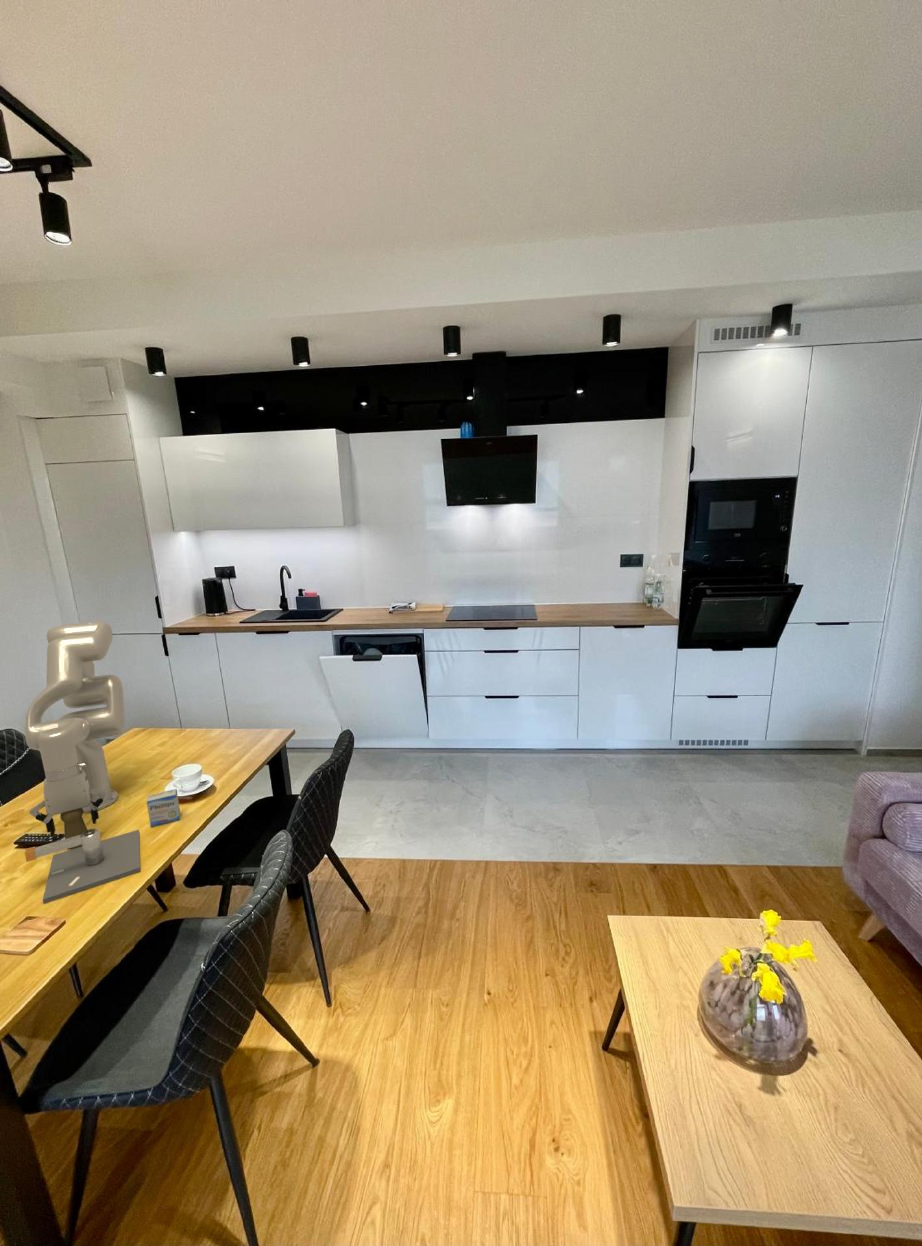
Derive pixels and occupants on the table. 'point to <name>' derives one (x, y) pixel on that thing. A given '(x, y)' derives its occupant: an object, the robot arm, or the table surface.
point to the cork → (73, 824)
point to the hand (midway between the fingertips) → (74, 827)
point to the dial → (87, 840)
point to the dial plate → (92, 867)
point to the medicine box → (163, 808)
